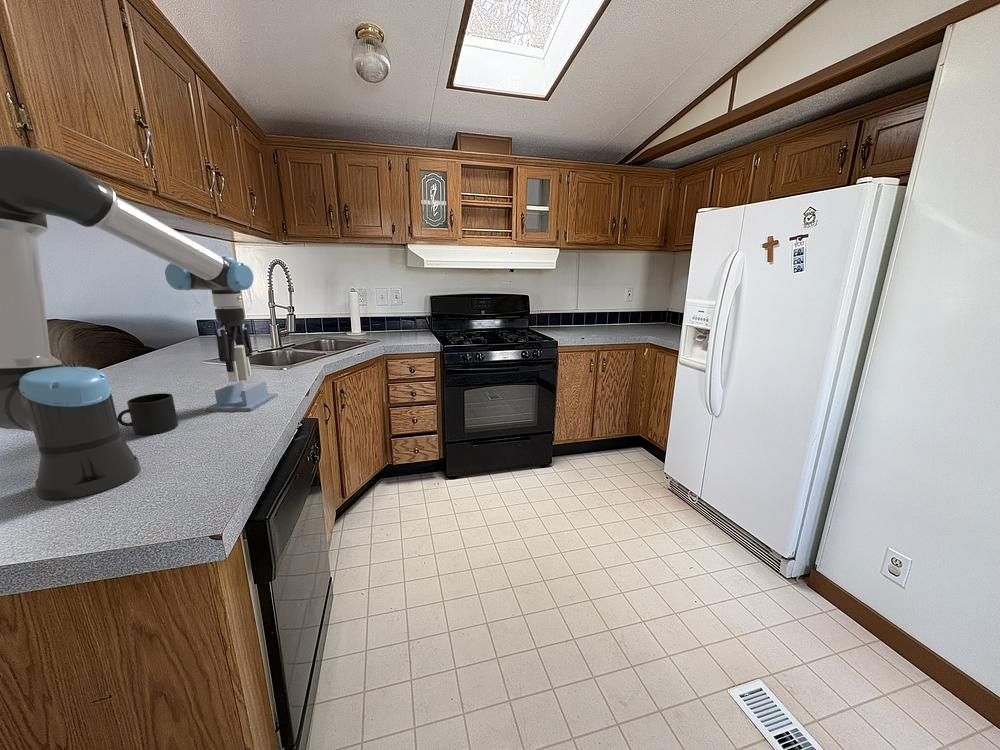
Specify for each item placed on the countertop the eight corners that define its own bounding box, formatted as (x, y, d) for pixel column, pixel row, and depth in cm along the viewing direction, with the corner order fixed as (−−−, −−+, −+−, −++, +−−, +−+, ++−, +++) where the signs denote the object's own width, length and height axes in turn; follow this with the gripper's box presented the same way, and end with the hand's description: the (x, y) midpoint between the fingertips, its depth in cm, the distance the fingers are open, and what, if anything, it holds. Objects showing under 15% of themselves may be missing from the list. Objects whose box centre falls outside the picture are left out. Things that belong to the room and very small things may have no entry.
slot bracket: (251, 411, 126) (248, 392, 125) (206, 411, 126) (202, 392, 124) (277, 396, 142) (275, 379, 140) (237, 396, 141) (235, 379, 140)
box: (234, 378, 133) (229, 345, 131) (249, 376, 135) (244, 344, 132) (231, 381, 129) (226, 347, 126) (247, 380, 130) (242, 346, 128)
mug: (119, 432, 109) (111, 400, 107) (174, 420, 118) (168, 391, 115) (123, 441, 103) (115, 408, 101) (181, 428, 111) (175, 397, 109)
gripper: (220, 310, 117) (233, 386, 123) (258, 305, 135) (268, 371, 141) (194, 310, 117) (209, 386, 122) (235, 305, 135) (246, 371, 141)
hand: (240, 378), depth 132 cm, fingers closed on box, 6 cm apart
